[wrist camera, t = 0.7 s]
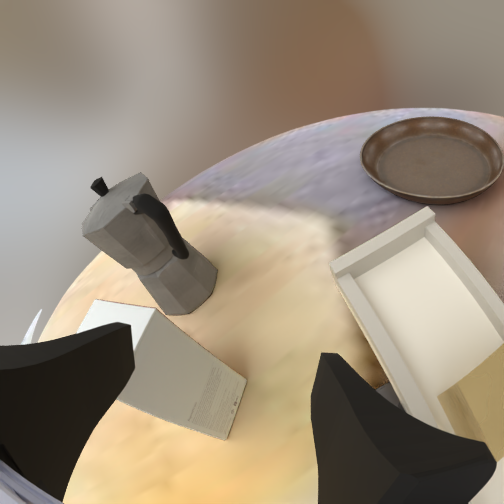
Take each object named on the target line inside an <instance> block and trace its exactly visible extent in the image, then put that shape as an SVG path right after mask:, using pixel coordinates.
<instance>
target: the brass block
mask: <svg viewBox="0 0 504 504" xmlns="http://www.w3.org/2000/svg"><path fill="white" fill-rule="evenodd" d="M437 398H438V400H439V402H440V404H441V406H442V408H443V410H444V412H445V414H446V416H447V418H448V420H449V422H450V424H451V426H452V428H453V430H454V432H455V434H456V435H457V436H461V437H465V438H469V439H473V440H477V441H482V442H485V443H486V445H487V447H488V448H489V450H490V451H491V453H492V455H493V456H494V458H495V460H496V462H498V461H499V460H500V459H502V458H503V457H504V343H503V344H502V345H501V346H500V347H499V348H498V349H497V350H495V351H494V352H493V353H492V354H491V355H490V356H489V357H488V358H486V359H485V360H484V361H483V362H482V363H480V364H479V365H478V366H477V367H476V368H474V369H473V370H472V371H471V372H469V373H468V374H467V375H466V376H464V377H463V378H462V379H461V380H459V381H458V382H457V383H455V384H454V385H453V386H451V387H450V388H448V389H447V390H446V391H444V392H443V393H441V394H440V395H438V396H437Z"/></svg>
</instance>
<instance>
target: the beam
mask: <svg viewBox="0 0 504 504" xmlns="http://www.w3.org/2000/svg"><path fill="white" fill-rule="evenodd" d="M329 266H330V269H331V272H332V275H333V279H334V282H335V285H336V287H337V289H338V290H339V292H340V294H341V295H342V297H343V299H344V300H345V302H346V304H347V306H348V307H349V309H350V311H351V312H352V314H353V316H354V318H355V319H356V321H357V323H358V325H359V326H360V328H361V330H362V332H363V333H364V335H365V337H366V339H367V340H368V342H369V344H370V346H371V348H372V349H373V351H374V353H375V355H376V357H377V359H378V360H379V362H380V364H381V366H382V368H383V370H384V372H385V373H386V375H387V377H388V379H389V381H390V383H391V385H392V387H393V389H394V391H395V392H396V394H397V396H398V398H399V400H400V402H401V404H402V406H403V408H404V410H405V412H406V413H408V414H409V415H411V416H413V417H415V418H417V419H419V420H421V421H422V422H424V423H426V424H428V425H431V426H433V427H435V428H438V429H440V430H443V431H446V432H448V433H451V434H454V435H456V434H455V432H454V430H453V428H452V426H451V424H450V422H449V420H448V418H447V416H446V414H445V412H444V410H443V408H442V406H441V404H440V402H439V400H438V398H437V396H438V395H440V394H441V393H443V392H444V391H446V390H447V389H448V388H450V387H451V386H453V385H454V384H455V383H457V382H458V381H459V380H461V379H462V378H463V377H464V376H466V375H467V374H468V373H469V372H471V371H472V370H473V369H474V368H476V367H477V366H478V365H479V364H480V363H482V362H483V361H484V360H485V359H486V358H488V357H489V356H490V355H491V354H492V353H493V352H494V351H495V350H497V349H498V348H499V347H500V346H501V345H502V344H503V343H504V304H503V302H502V301H501V300H500V298H499V297H498V295H497V294H496V293H495V291H494V290H493V289H492V287H491V286H490V285H489V283H488V282H487V281H486V280H485V278H484V277H483V276H482V274H481V273H480V272H479V271H478V269H477V268H476V267H475V266H474V265H473V263H472V262H471V261H470V260H469V259H468V257H467V256H466V255H465V254H464V253H463V252H462V250H461V249H460V248H459V247H458V246H457V245H456V244H455V243H454V241H453V240H452V239H451V238H450V237H449V236H448V235H447V234H446V233H445V232H444V230H443V229H442V228H441V227H440V226H439V225H438V224H437V223H436V222H435V213H434V212H433V211H432V210H431V209H430V208H429V207H428V206H426V207H425V208H423V209H421V210H420V211H418V212H416V213H415V214H413V215H411V216H410V217H408V218H406V219H405V220H403V221H401V222H400V223H398V224H396V225H395V226H393V227H391V228H390V229H388V230H386V231H384V232H383V233H381V234H379V235H378V236H376V237H374V238H372V239H371V240H369V241H367V242H365V243H364V244H362V245H360V246H358V247H357V248H355V249H353V250H351V251H349V252H348V253H346V254H344V255H342V256H340V257H339V258H337V259H335V260H333V261H331V262H330V263H329ZM469 504H504V457H503V458H502V459H500V460H499V461H498V462H497V467H496V470H495V472H494V474H493V476H492V477H491V479H490V480H489V481H488V483H487V484H486V485H485V486H484V487H483V488H482V489H481V490H480V491H479V492H478V493H477V495H476V496H475V497H474V498H473V499H472V500H471V501H470V502H469Z"/></svg>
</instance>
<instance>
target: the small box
mask: <svg viewBox="0 0 504 504" xmlns="http://www.w3.org/2000/svg"><path fill="white" fill-rule="evenodd" d="M114 322H121V323H125V324H130V325H131V330H132V341H133V351H134V360H135V370H134V372H133V374H132V376H131V378H130V379H129V381H128V383H127V385H126V386H125V388H124V389H123V391H122V392H121V393H120V395H119V396H118V397H117V400H119V401H121V402H123V403H125V404H127V405H129V406H131V407H134V408H136V409H138V410H141V411H143V412H145V413H148V414H150V415H152V416H155V417H157V418H160V419H163V420H165V421H168V422H171V423H174V424H176V425H179V426H182V427H185V428H188V429H191V430H194V431H197V432H200V433H203V434H206V435H209V436H212V437H215V438H218V439H222V440H226V439H227V437H228V434H229V431H230V429H231V426H232V423H233V420H234V417H235V414H236V412H237V409H238V406H239V403H240V400H241V397H242V394H243V391H244V388H245V385H246V382H247V379H245V378H244V377H243V376H241V375H240V374H239V373H237V372H236V371H234V370H233V369H232V368H230V367H229V366H227V365H226V364H225V363H223V362H222V361H221V360H219V359H218V358H217V357H215V356H214V355H213V354H211V353H210V352H209V351H208V350H206V349H205V348H204V347H202V346H201V345H200V344H199V343H197V342H196V341H195V340H193V339H192V338H191V337H190V336H188V335H187V334H186V333H185V332H183V331H182V330H181V329H180V328H179V327H177V326H176V325H175V324H174V323H173V322H171V321H170V320H169V319H168V318H167V317H166V316H164V315H163V314H162V313H161V312H160V311H159V310H158V309H157V308H153V307H146V306H138V305H131V304H124V303H118V302H111V301H105V300H99V299H95V300H94V302H93V304H92V306H91V307H90V309H89V311H88V313H87V314H86V316H85V318H84V320H83V322H82V323H81V325H80V327H79V329H78V331H77V333H80V332H83V331H86V330H90V329H93V328H96V327H99V326H102V325H106V324H110V323H114ZM77 333H76V334H77Z"/></svg>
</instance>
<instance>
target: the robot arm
mask: <svg viewBox="0 0 504 504" xmlns="http://www.w3.org/2000/svg"><path fill="white" fill-rule="evenodd" d="M134 370H135V360H134V351H133V341H132V330H131V325H130V324H125V323H121V322H114V323H110V324H106V325H102V326H99V327H96V328H93V329H90V330H86V331H83V332H80V333H77V334H73V335H70V336H66V337H62V338H58V339H55V340H50V341H46V342H40V343H34V344H26V345H11V346H0V504H64V503H62V502H63V498H64V495H65V492H66V489H67V486H68V483H69V480H70V477H71V475H72V472H73V470H74V468H75V465H76V463H77V461H78V458H79V456H80V454H81V452H82V450H83V448H84V446H85V444H86V442H87V441H88V439H89V437H90V435H91V433H92V431H93V430H94V428H95V427H96V425H97V424H98V422H99V421H100V420H101V418H102V417H103V416H104V414H105V413H106V412H107V410H108V409H109V408H110V406H111V405H112V404H113V403H114V401H115V400H116V399H117V397H118V396H119V395H120V393H121V392H122V391H123V389H124V388H125V386H126V385H127V383H128V381H129V379H130V378H131V376H132V374H133V372H134ZM311 421H312V428H313V435H314V442H315V449H316V456H317V464H318V504H469V502H470V501H471V500H472V499H473V498H474V497H475V496H476V495H477V493H478V492H479V491H480V490H481V489H482V488H483V487H484V486H485V485H486V484H487V483H488V481H489V480H490V479H491V477H492V476H493V474H494V472H495V470H496V467H497V462H496V460H495V458H494V456H493V455H492V453H491V451H490V450H489V448H488V447H487V445H486V443H485V442H482V441H477V440H473V439H469V438H465V437H461V436H457V435H454V434H451V433H448V432H446V431H443V430H440V429H438V428H435V427H433V426H431V425H428V424H426V423H424V422H422V421H421V420H419V419H417V418H415V417H413V416H411V415H409V414H408V413H406V412H404V411H403V410H401V409H400V408H398V407H397V406H395V405H394V404H392V403H391V402H390V401H388V400H387V399H386V398H384V397H383V396H382V395H381V394H379V393H378V392H377V391H376V390H375V389H373V388H372V387H371V386H370V385H369V384H368V383H367V382H366V381H365V380H364V379H363V378H362V377H361V376H360V375H359V374H358V373H357V372H356V371H355V370H354V369H353V368H352V367H351V366H350V365H349V364H348V363H347V362H346V361H345V360H344V359H343V358H342V357H341V356H340V355H339V354H338V353H321V356H320V360H319V365H318V369H317V373H316V377H315V381H314V385H313V389H312V393H311Z"/></svg>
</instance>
